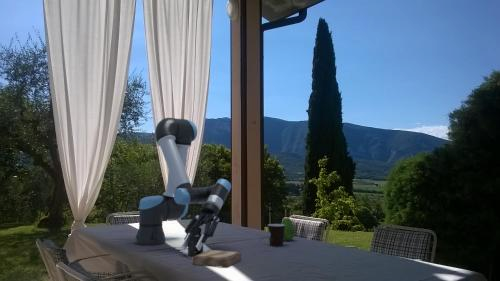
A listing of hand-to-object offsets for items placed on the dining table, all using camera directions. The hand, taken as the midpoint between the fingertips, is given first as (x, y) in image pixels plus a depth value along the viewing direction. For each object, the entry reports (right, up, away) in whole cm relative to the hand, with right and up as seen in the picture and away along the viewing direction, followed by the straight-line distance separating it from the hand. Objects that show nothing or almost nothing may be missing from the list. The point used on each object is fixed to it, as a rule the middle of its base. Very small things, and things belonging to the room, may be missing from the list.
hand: (190, 247), depth 188 cm
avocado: (+46, -7, +43) cm, 63 cm away
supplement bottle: (+2, -4, +3) cm, 6 cm away
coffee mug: (+39, -6, +31) cm, 50 cm away
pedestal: (+12, -4, -9) cm, 16 cm away
